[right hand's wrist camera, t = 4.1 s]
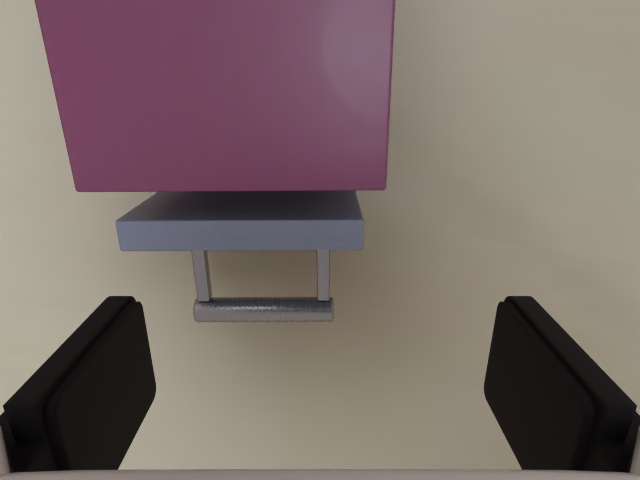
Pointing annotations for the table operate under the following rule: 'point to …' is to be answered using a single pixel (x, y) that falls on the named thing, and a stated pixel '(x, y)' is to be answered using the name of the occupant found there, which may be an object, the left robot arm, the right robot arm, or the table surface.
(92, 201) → the table surface
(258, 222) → the drawer
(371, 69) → the cabinet
